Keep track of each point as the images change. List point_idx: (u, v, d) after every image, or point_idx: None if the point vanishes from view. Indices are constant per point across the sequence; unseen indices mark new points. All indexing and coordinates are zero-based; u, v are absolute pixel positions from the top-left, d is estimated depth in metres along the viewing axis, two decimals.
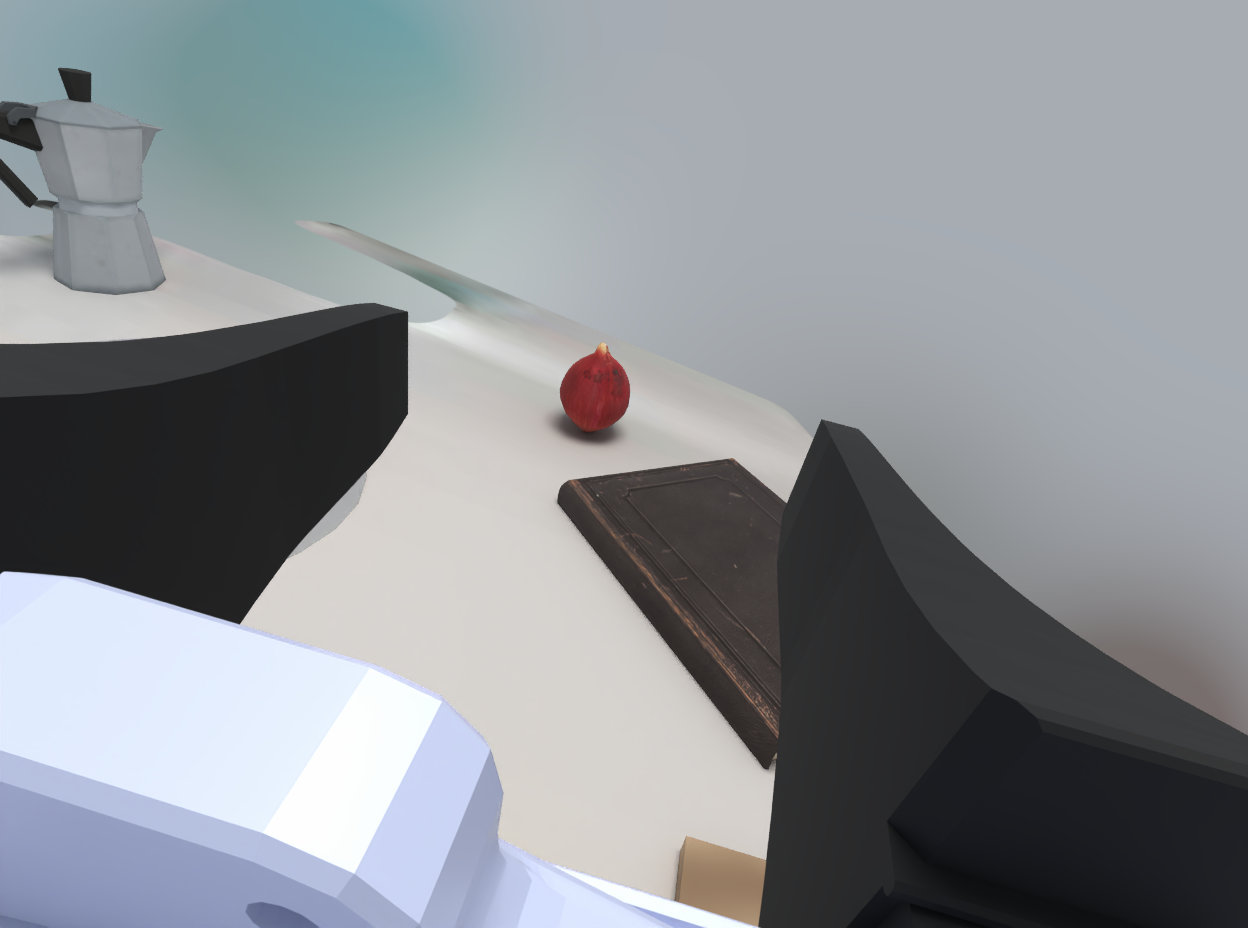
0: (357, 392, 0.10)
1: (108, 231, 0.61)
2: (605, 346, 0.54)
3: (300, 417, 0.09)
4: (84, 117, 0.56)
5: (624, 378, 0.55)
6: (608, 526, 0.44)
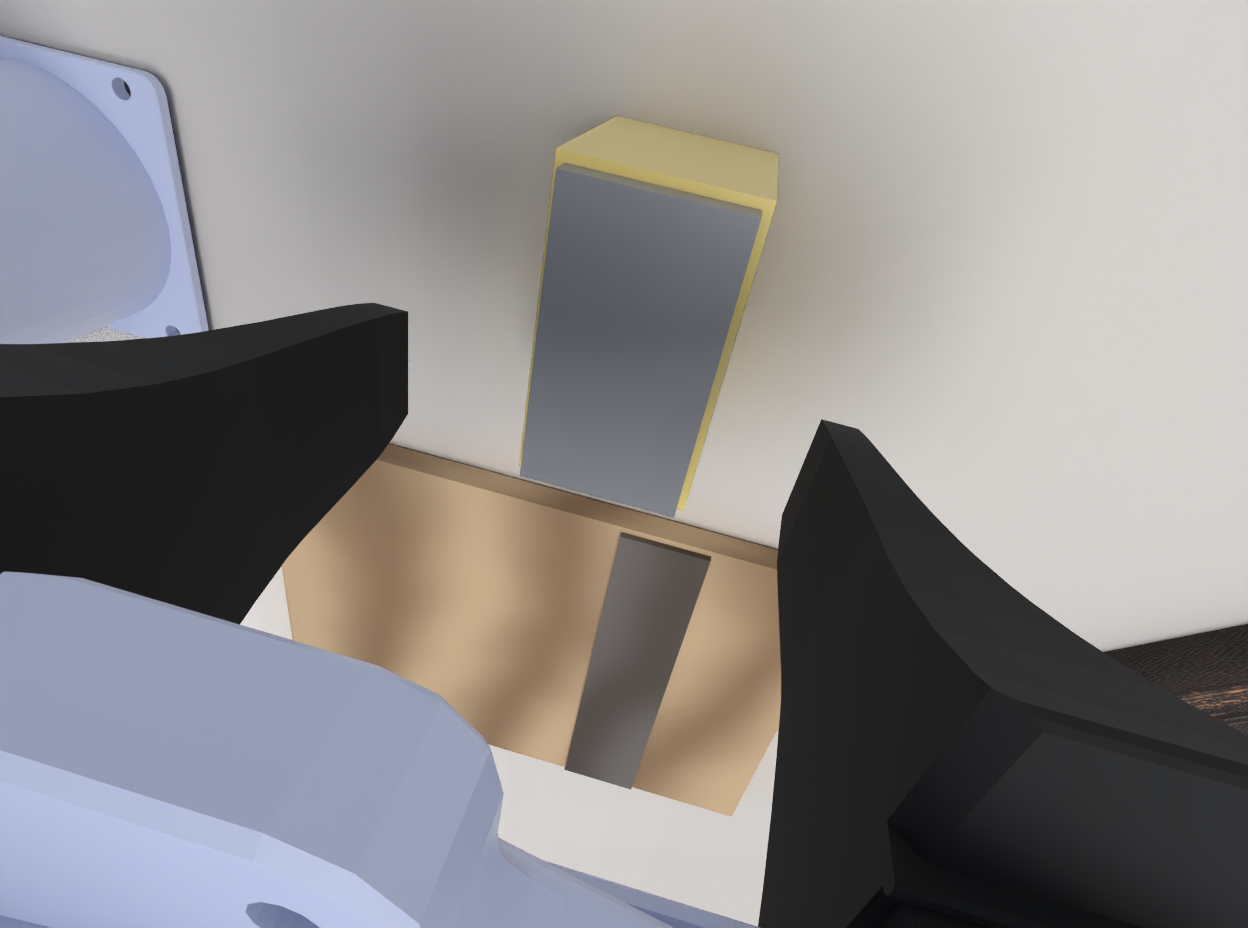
0: (357, 392, 0.10)
1: None
2: None
3: (300, 417, 0.09)
4: None
5: None
6: None
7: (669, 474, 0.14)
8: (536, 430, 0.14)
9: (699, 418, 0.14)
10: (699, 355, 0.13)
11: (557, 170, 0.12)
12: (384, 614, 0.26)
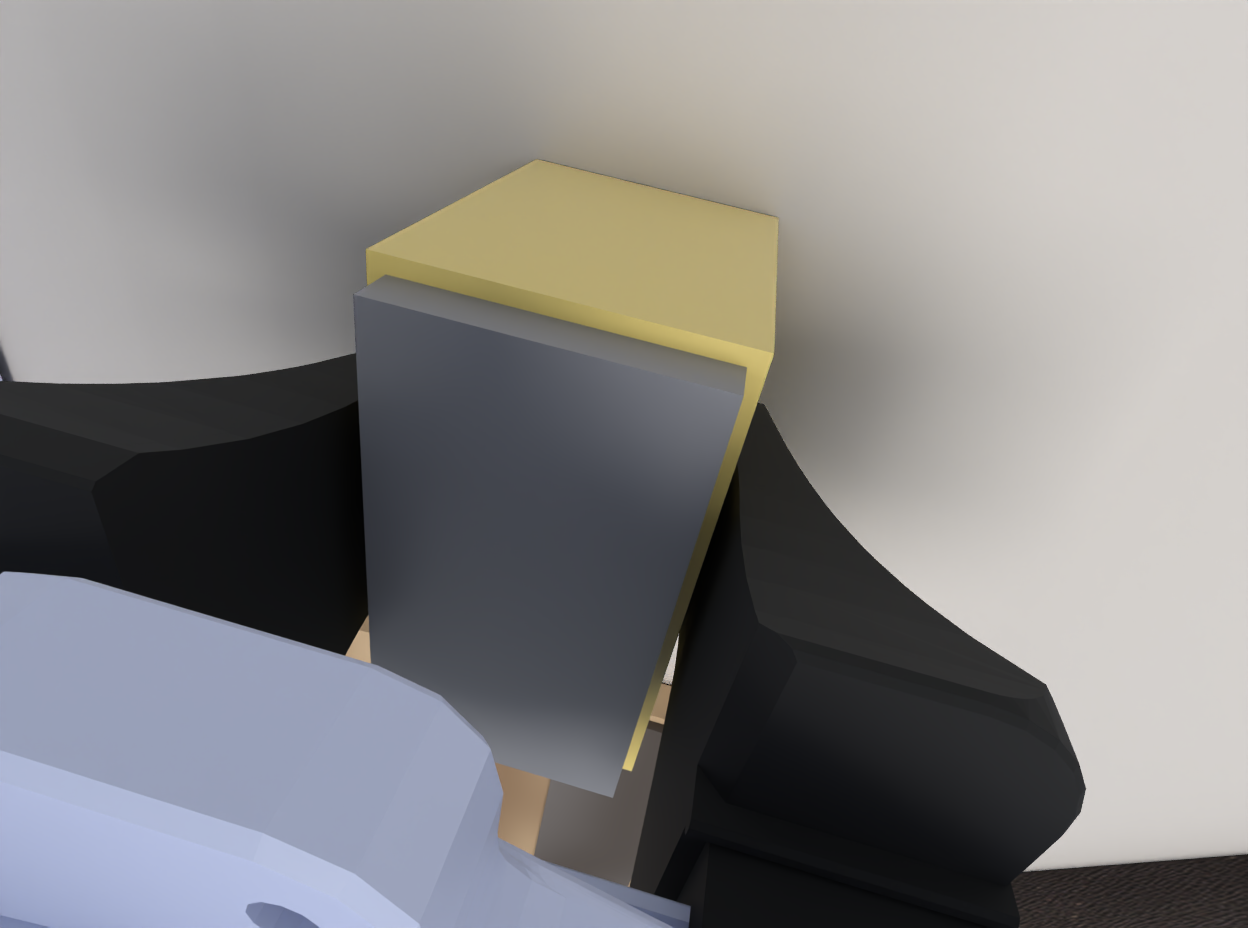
0: None
1: None
2: None
3: None
4: None
5: None
6: None
7: (601, 746, 0.09)
8: None
9: (645, 683, 0.08)
10: (639, 598, 0.07)
11: (357, 297, 0.06)
12: None
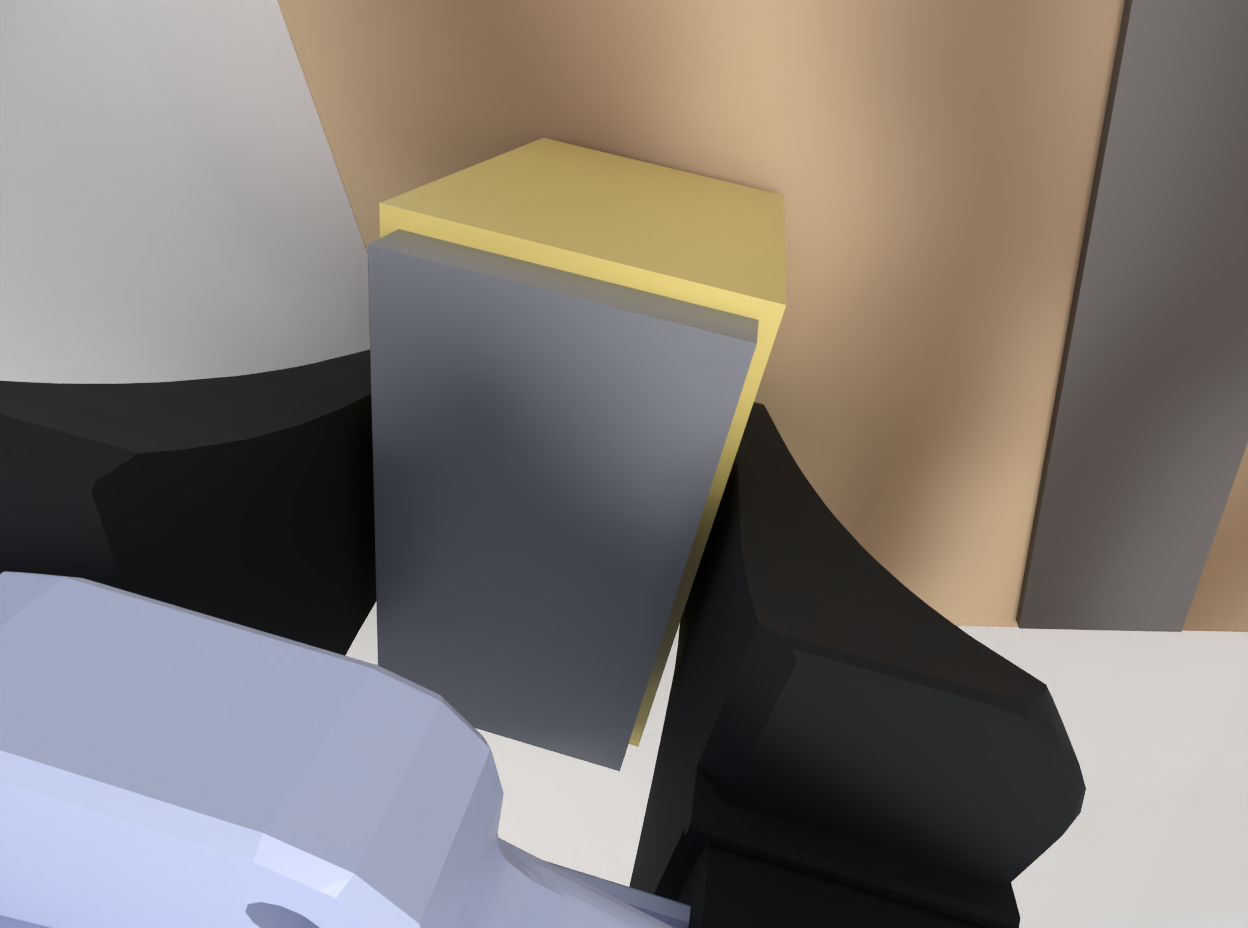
0: None
1: None
2: None
3: None
4: None
5: None
6: None
7: (609, 717, 0.09)
8: (395, 642, 0.09)
9: (654, 647, 0.08)
10: (649, 558, 0.07)
11: (372, 247, 0.06)
12: None
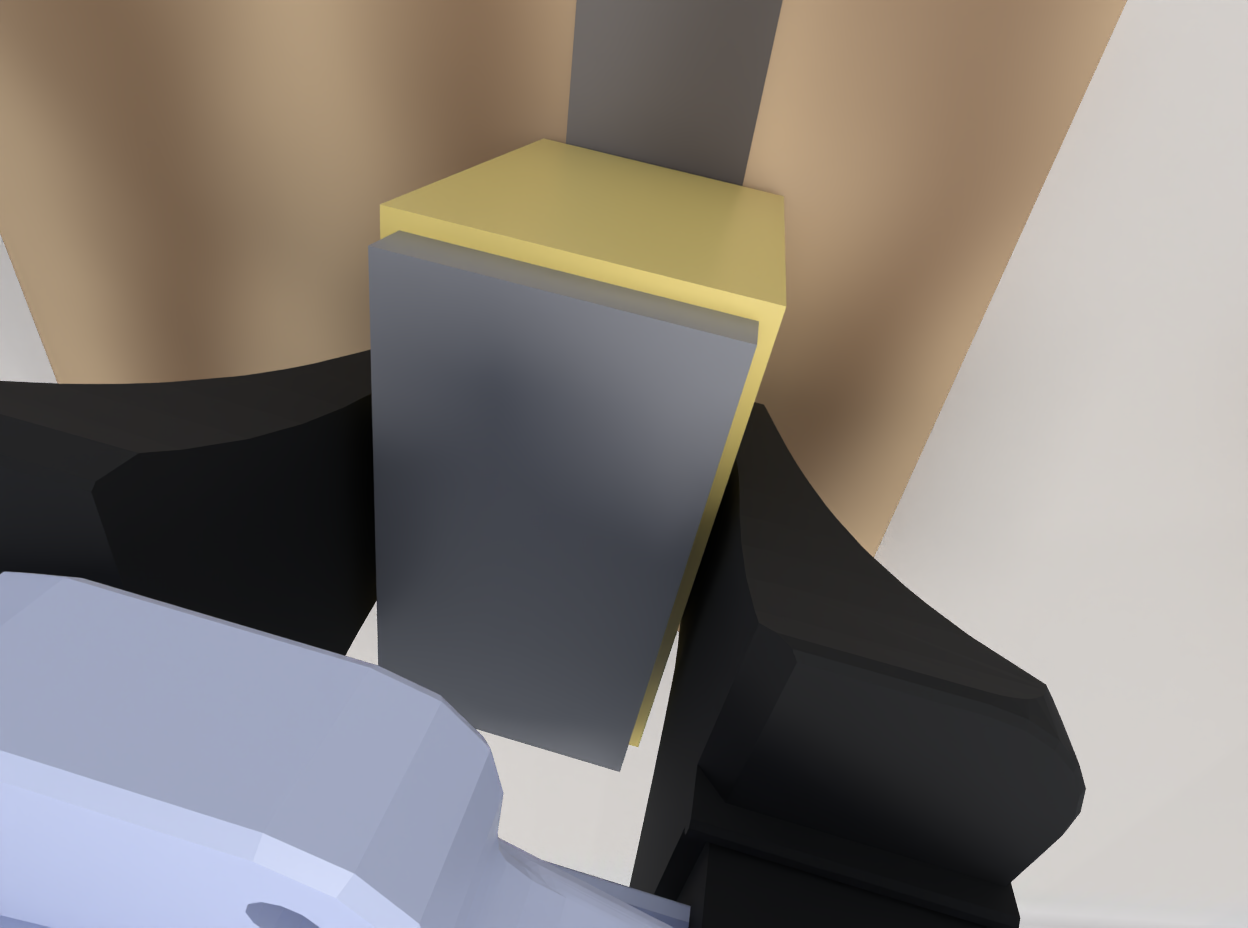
0: None
1: None
2: None
3: None
4: None
5: None
6: None
7: (609, 717, 0.09)
8: (395, 643, 0.09)
9: (654, 648, 0.08)
10: (649, 559, 0.07)
11: (372, 249, 0.06)
12: (181, 290, 0.15)
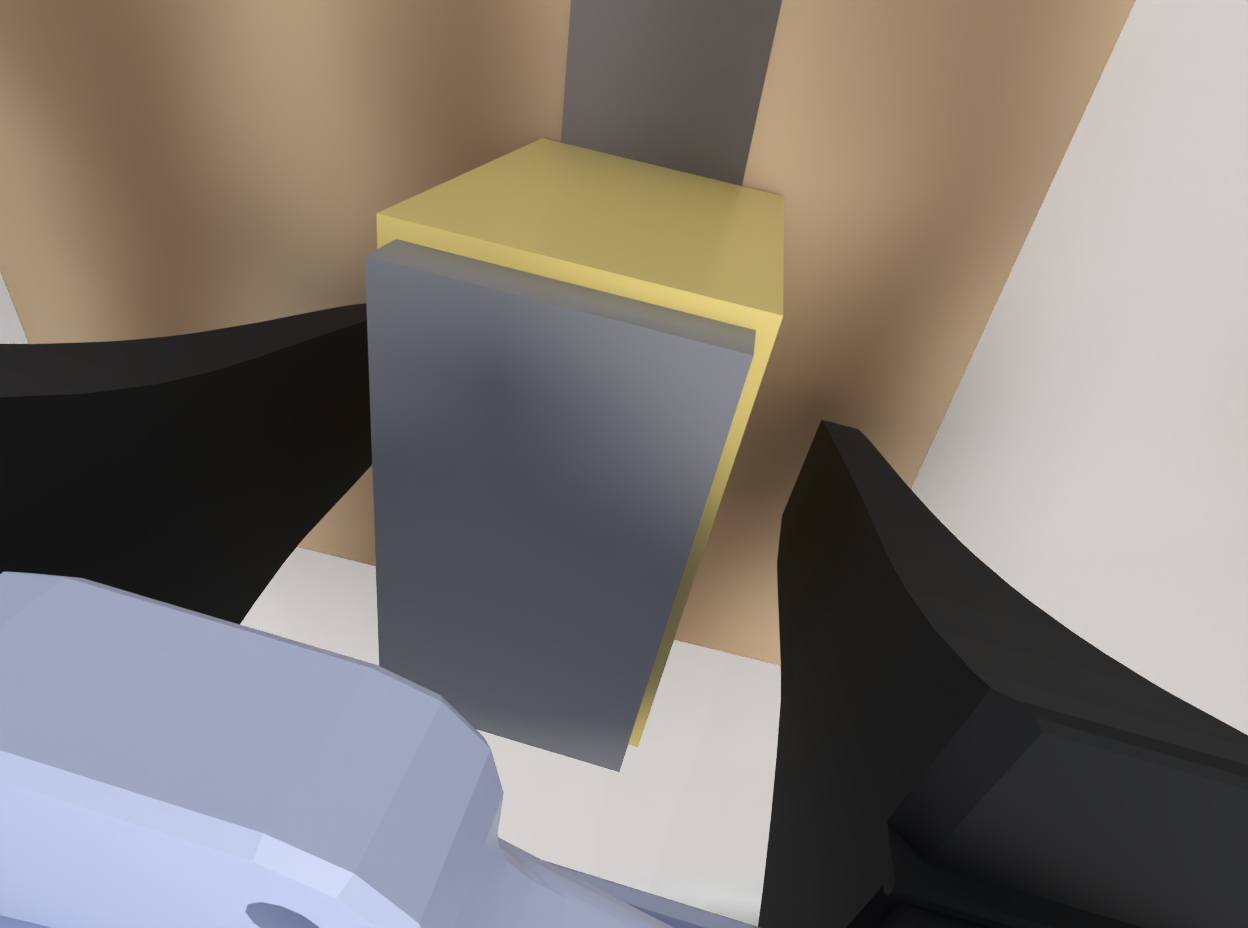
0: (357, 392, 0.10)
1: None
2: None
3: (300, 417, 0.09)
4: None
5: None
6: None
7: (608, 719, 0.09)
8: (396, 646, 0.09)
9: (653, 653, 0.08)
10: (647, 565, 0.07)
11: (368, 259, 0.06)
12: (170, 294, 0.14)
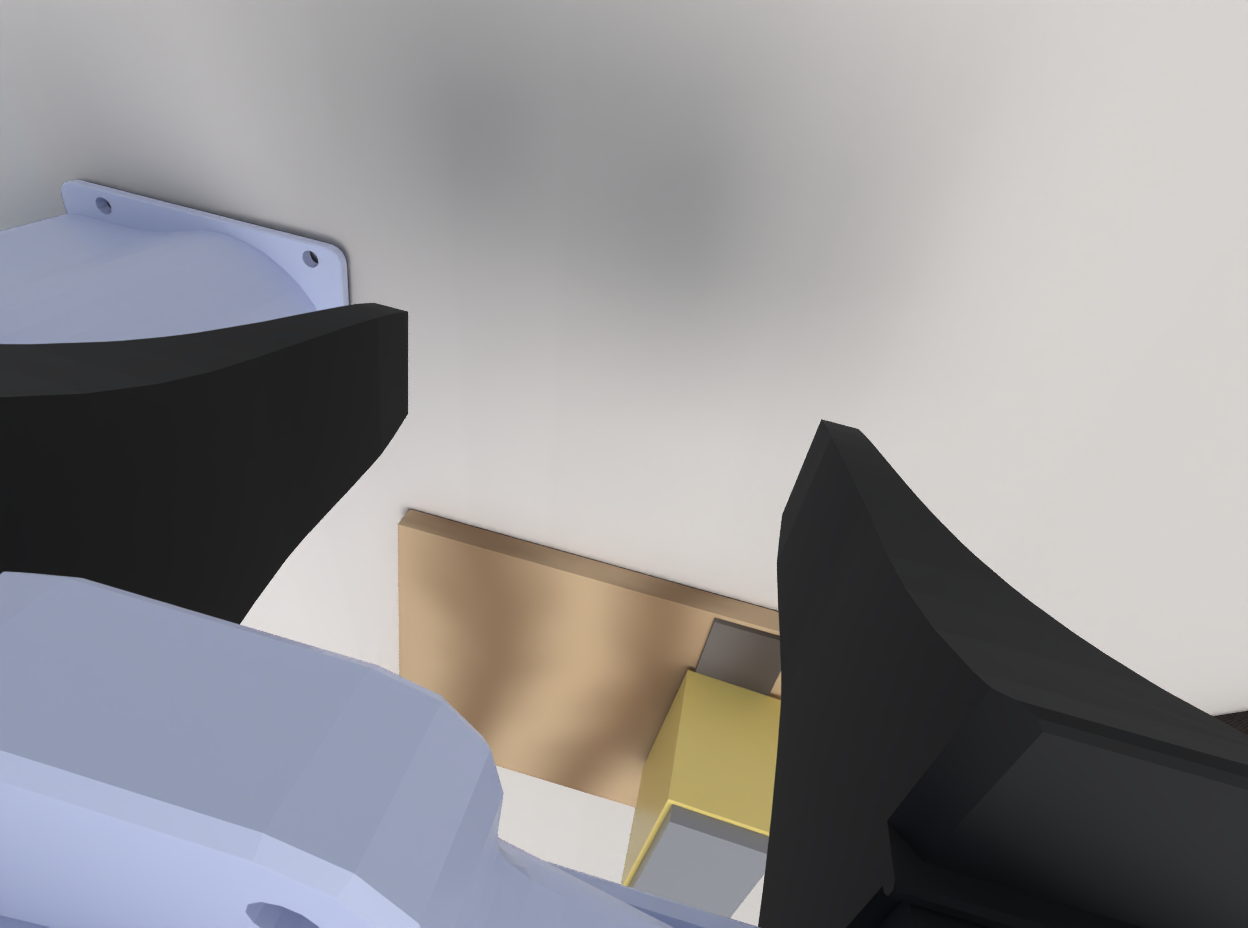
0: (357, 392, 0.10)
1: None
2: None
3: (300, 417, 0.09)
4: None
5: None
6: None
7: None
8: None
9: (734, 909, 0.24)
10: (737, 889, 0.23)
11: (670, 821, 0.22)
12: (489, 677, 0.30)
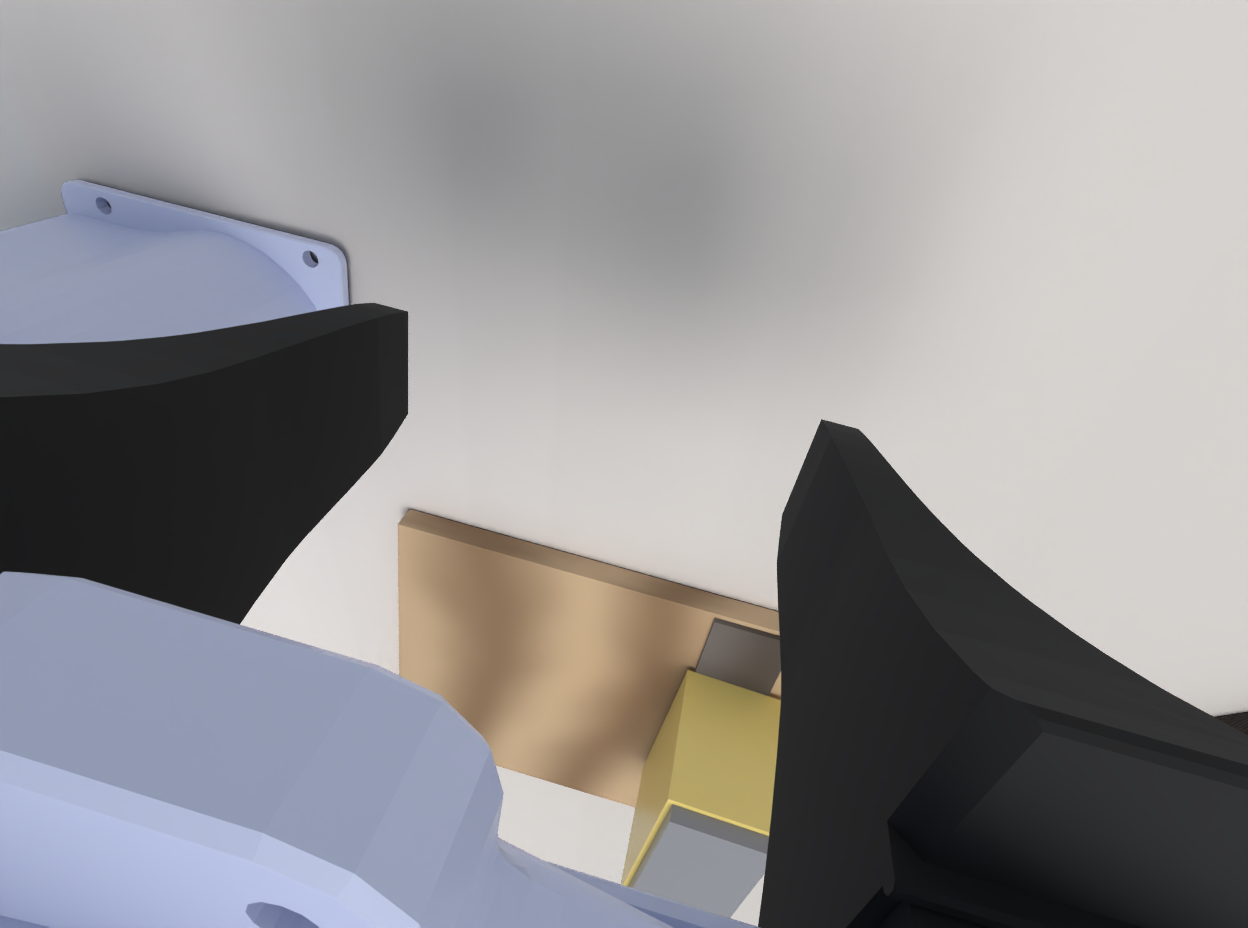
0: (357, 392, 0.10)
1: None
2: None
3: (300, 417, 0.09)
4: None
5: None
6: None
7: None
8: None
9: (734, 909, 0.24)
10: (737, 889, 0.23)
11: (670, 821, 0.22)
12: (489, 677, 0.30)
